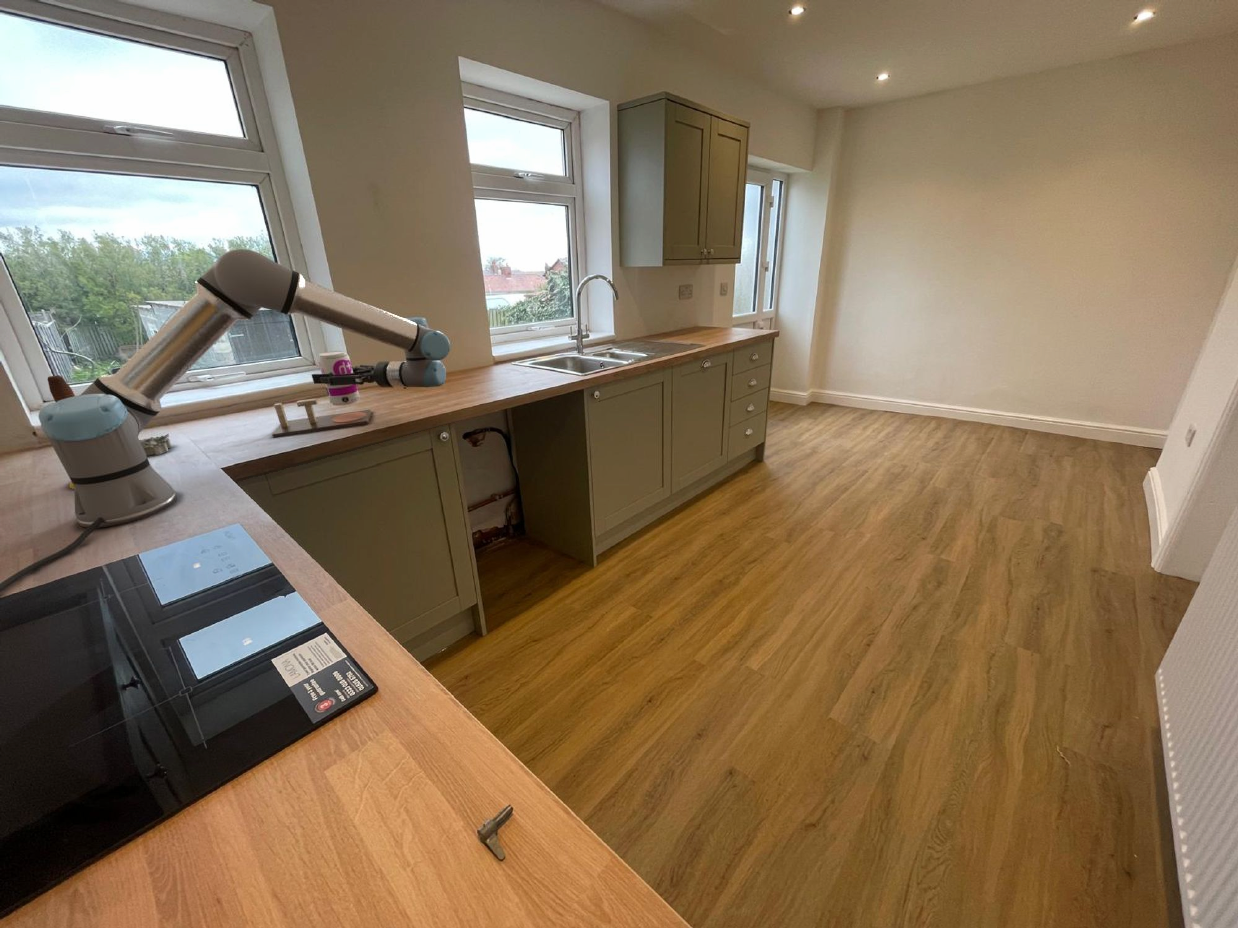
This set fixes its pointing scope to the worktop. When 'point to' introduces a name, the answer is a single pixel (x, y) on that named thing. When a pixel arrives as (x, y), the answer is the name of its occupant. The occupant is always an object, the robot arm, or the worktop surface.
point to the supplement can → (337, 365)
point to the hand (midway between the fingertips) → (324, 375)
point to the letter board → (317, 420)
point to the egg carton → (156, 445)
